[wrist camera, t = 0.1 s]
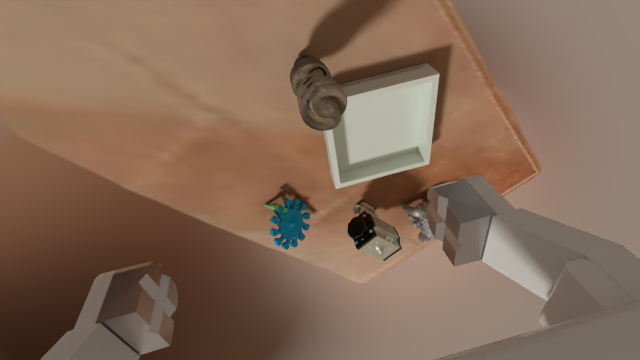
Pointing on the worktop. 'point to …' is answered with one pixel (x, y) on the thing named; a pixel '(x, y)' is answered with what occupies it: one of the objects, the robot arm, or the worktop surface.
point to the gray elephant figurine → (420, 220)
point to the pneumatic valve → (373, 233)
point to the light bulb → (317, 94)
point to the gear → (288, 222)
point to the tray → (384, 125)
